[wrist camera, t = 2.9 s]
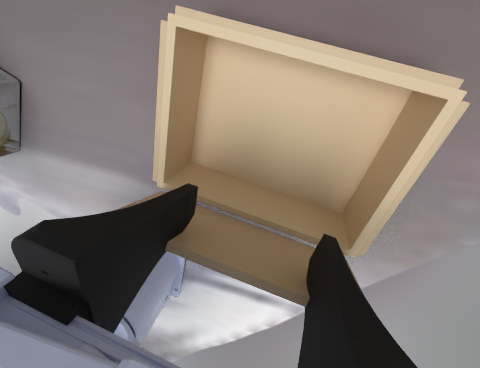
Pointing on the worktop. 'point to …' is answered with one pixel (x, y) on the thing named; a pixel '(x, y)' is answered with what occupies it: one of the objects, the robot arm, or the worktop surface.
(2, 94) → the coffee box
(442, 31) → the worktop surface
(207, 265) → the lid flap
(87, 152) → the worktop surface
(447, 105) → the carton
